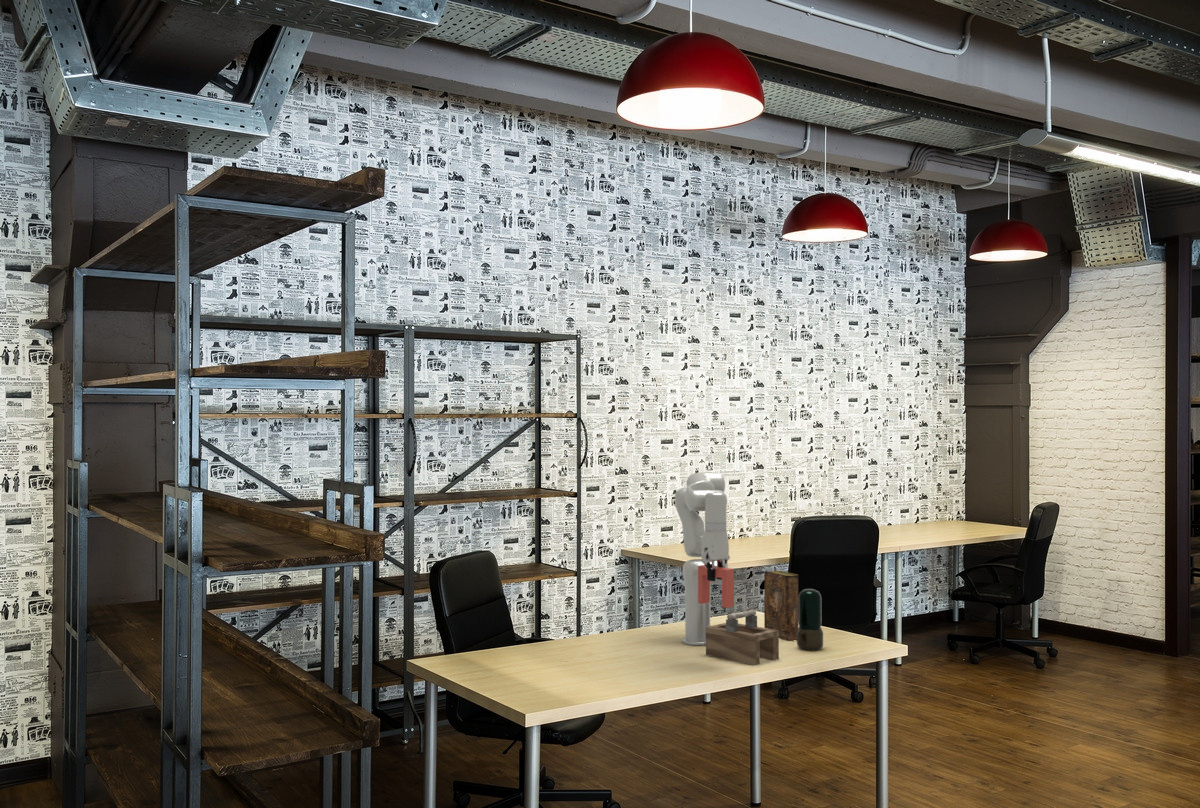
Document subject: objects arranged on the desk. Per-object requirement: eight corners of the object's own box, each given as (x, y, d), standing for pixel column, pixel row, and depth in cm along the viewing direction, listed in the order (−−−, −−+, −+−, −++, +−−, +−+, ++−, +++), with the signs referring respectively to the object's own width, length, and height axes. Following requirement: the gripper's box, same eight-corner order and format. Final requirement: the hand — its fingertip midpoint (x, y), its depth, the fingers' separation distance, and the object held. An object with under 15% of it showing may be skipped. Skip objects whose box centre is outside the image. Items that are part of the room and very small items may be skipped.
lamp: (823, 651, 365) (823, 591, 365) (796, 650, 367) (796, 590, 367) (823, 646, 374) (822, 587, 375) (797, 645, 376) (796, 586, 377)
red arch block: (705, 601, 354) (705, 564, 354) (734, 606, 345) (733, 568, 345) (698, 603, 351) (698, 566, 352) (726, 608, 342) (726, 570, 342)
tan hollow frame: (730, 648, 370) (730, 605, 370) (778, 658, 354) (778, 613, 354) (705, 654, 360) (705, 610, 361) (754, 665, 344) (754, 618, 345)
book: (800, 640, 386) (800, 575, 386) (788, 641, 383) (788, 576, 384) (775, 632, 400) (775, 569, 401) (764, 633, 398) (764, 570, 399)
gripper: (722, 525, 357) (723, 576, 357) (691, 528, 346) (691, 581, 345) (739, 526, 351) (739, 578, 351) (708, 530, 340) (708, 583, 340)
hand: (715, 579), depth 348 cm, fingers closed on red arch block, 4 cm apart
